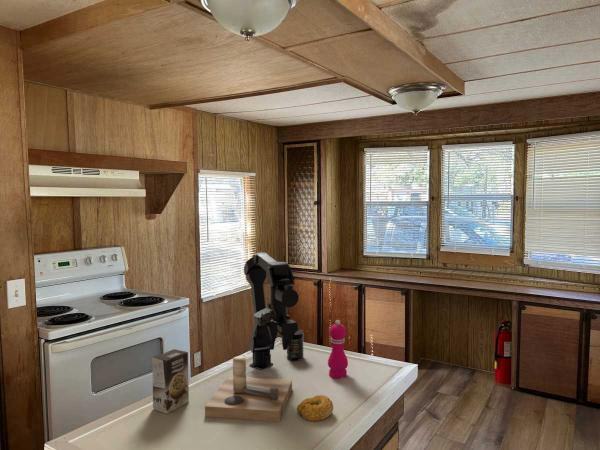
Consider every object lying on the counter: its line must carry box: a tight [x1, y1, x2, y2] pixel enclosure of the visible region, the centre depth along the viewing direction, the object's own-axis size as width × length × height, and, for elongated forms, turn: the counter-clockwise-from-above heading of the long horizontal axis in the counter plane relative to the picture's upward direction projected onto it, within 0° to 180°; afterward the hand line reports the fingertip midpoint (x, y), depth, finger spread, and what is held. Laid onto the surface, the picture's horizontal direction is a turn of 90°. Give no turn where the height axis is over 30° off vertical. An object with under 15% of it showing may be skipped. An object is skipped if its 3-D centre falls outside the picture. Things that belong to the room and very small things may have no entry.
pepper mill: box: [327, 319, 349, 379], centre depth 161 cm, size 7×7×20 cm
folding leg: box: [232, 355, 278, 399], centre depth 139 cm, size 4×15×10 cm, turn 66°
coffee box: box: [151, 348, 190, 414], centre depth 138 cm, size 9×6×16 cm
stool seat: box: [204, 376, 293, 422], centre depth 141 cm, size 22×22×3 cm
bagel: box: [296, 394, 334, 422], centre depth 133 cm, size 10×11×5 cm
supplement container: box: [286, 329, 304, 362], centre depth 179 cm, size 7×7×10 cm
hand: (279, 345), depth 153 cm, fingers open, 9 cm apart
